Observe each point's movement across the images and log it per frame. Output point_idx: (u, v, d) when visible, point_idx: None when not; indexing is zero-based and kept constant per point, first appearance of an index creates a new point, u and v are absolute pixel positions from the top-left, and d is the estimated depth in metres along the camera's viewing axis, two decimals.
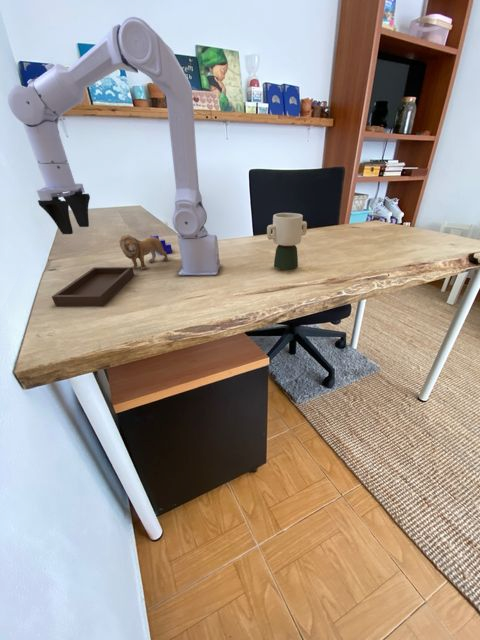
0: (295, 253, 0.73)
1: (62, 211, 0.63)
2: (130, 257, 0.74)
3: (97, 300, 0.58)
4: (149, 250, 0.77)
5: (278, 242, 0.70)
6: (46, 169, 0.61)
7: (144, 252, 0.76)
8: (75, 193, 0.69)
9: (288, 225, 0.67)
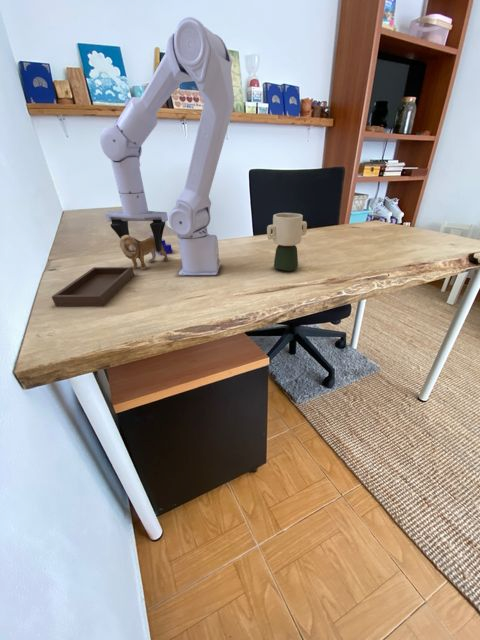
0: (295, 253, 0.73)
1: None
2: (130, 257, 0.74)
3: (97, 300, 0.58)
4: (149, 250, 0.77)
5: (278, 242, 0.70)
6: None
7: (144, 252, 0.76)
8: (152, 220, 0.72)
9: (288, 225, 0.67)
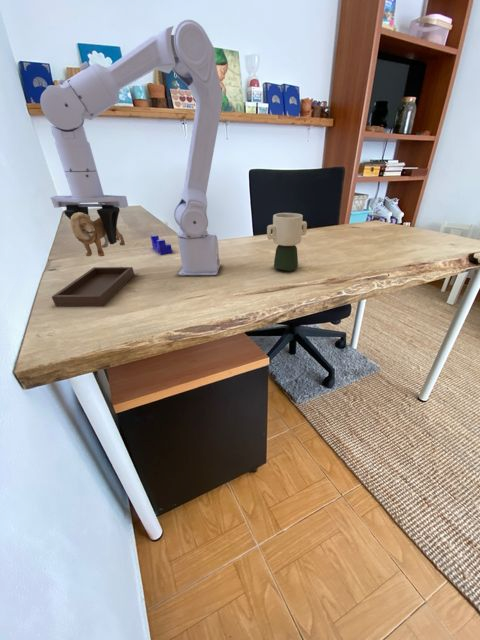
0: (295, 253, 0.73)
1: None
2: (85, 241, 0.59)
3: (97, 300, 0.58)
4: (105, 232, 0.64)
5: (278, 242, 0.70)
6: None
7: (100, 235, 0.62)
8: None
9: (288, 225, 0.67)
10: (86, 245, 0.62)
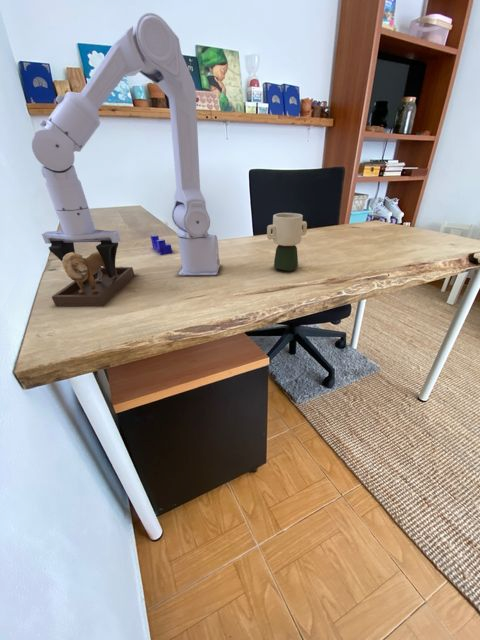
0: (295, 253, 0.73)
1: None
2: (78, 280, 0.59)
3: (97, 300, 0.58)
4: (97, 268, 0.64)
5: (278, 242, 0.70)
6: None
7: (93, 271, 0.62)
8: None
9: (288, 225, 0.67)
10: (79, 282, 0.62)
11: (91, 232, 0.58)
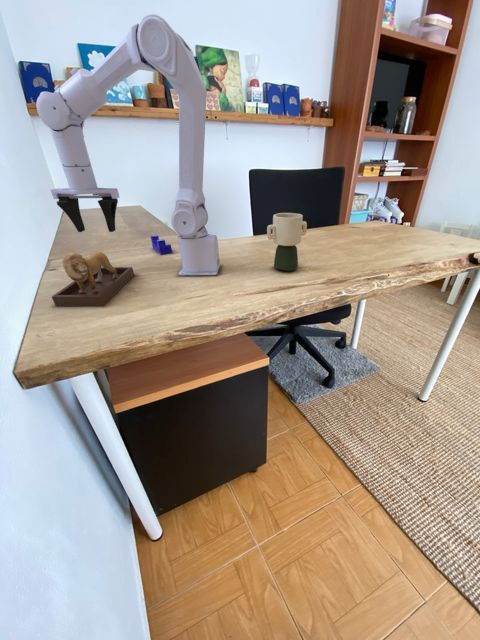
0: (295, 253, 0.73)
1: None
2: (78, 280, 0.59)
3: (97, 300, 0.58)
4: (97, 268, 0.64)
5: (278, 242, 0.70)
6: None
7: (93, 271, 0.62)
8: None
9: (288, 225, 0.67)
10: (79, 282, 0.62)
11: (94, 188, 0.66)
